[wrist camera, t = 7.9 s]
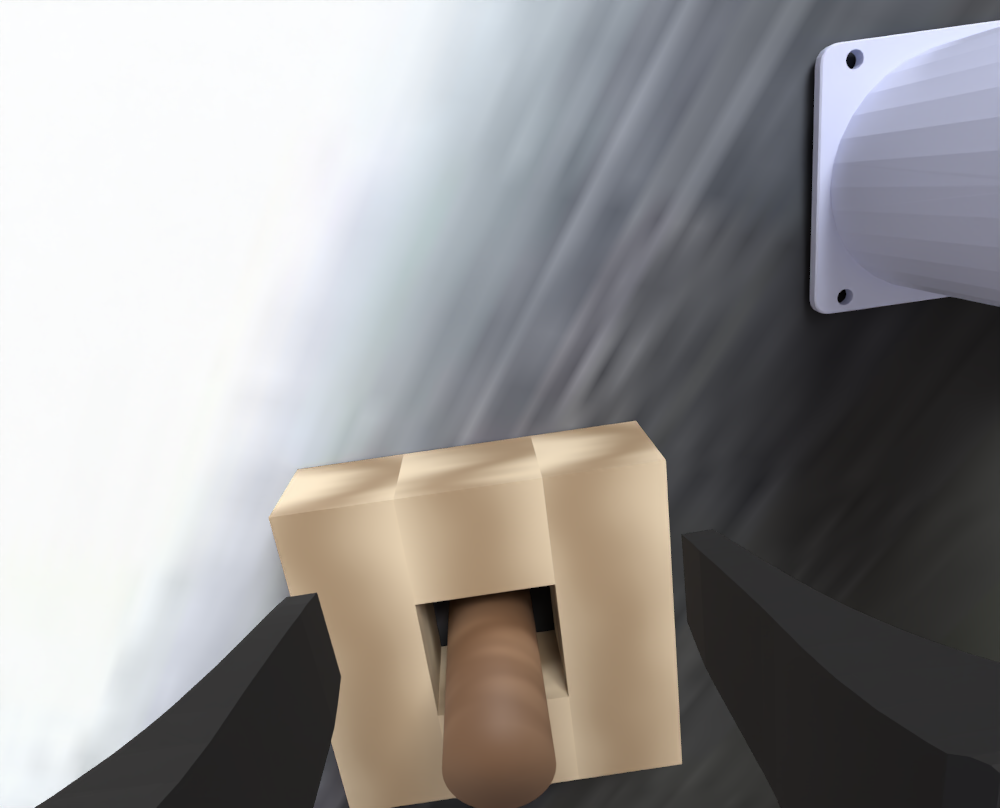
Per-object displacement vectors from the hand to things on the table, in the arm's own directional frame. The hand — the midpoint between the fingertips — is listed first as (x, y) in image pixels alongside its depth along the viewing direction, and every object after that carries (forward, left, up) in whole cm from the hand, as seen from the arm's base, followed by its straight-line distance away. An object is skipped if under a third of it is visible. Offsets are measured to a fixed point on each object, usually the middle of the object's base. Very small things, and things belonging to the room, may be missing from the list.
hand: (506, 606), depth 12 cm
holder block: (+1, +7, -10) cm, 12 cm away
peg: (+1, +7, -10) cm, 12 cm away
